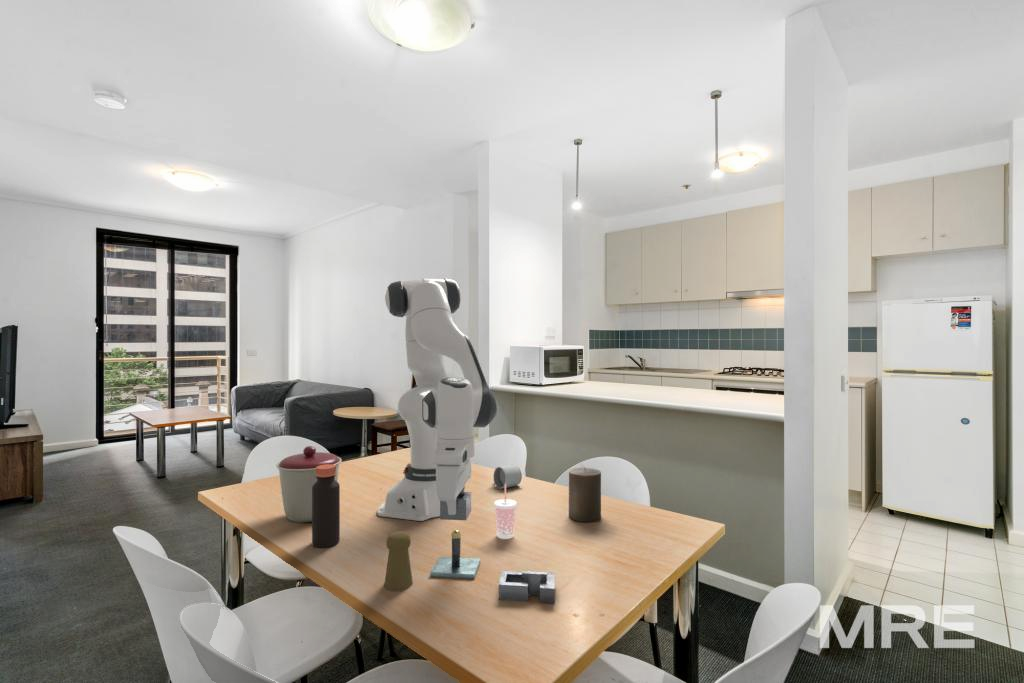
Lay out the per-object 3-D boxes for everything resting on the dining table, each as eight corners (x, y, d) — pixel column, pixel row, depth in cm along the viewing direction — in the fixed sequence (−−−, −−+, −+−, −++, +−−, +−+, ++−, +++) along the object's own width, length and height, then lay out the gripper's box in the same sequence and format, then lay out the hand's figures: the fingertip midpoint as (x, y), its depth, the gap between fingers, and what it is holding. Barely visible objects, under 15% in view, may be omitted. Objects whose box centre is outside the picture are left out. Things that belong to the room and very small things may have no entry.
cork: (386, 577, 112) (386, 528, 112) (414, 576, 112) (414, 527, 112) (382, 591, 106) (382, 539, 106) (411, 590, 106) (411, 538, 106)
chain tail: (498, 600, 102) (498, 578, 102) (502, 583, 109) (502, 563, 109) (554, 603, 101) (554, 581, 101) (555, 586, 108) (555, 566, 108)
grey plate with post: (430, 576, 113) (430, 536, 112) (439, 560, 120) (439, 523, 120) (474, 578, 111) (474, 538, 111) (480, 562, 119) (480, 524, 119)
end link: (440, 519, 113) (440, 499, 113) (446, 510, 119) (446, 491, 119) (466, 520, 113) (466, 500, 112) (471, 511, 118) (471, 492, 118)
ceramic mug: (523, 486, 180) (523, 465, 180) (505, 491, 175) (505, 469, 175) (505, 480, 189) (505, 460, 189) (487, 484, 184) (487, 463, 184)
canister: (266, 517, 150) (266, 446, 150) (324, 502, 163) (324, 437, 163) (292, 533, 137) (292, 456, 137) (352, 516, 151) (352, 446, 150)
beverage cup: (512, 541, 132) (512, 488, 132) (490, 538, 134) (490, 486, 134) (519, 533, 138) (519, 482, 138) (499, 530, 140) (499, 480, 140)
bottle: (319, 550, 126) (319, 471, 126) (307, 543, 130) (307, 466, 130) (344, 542, 131) (344, 466, 131) (331, 535, 136) (331, 462, 135)
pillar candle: (600, 523, 145) (601, 471, 145) (566, 521, 147) (567, 469, 147) (601, 512, 154) (601, 464, 154) (569, 510, 156) (570, 462, 156)
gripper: (452, 439, 126) (452, 493, 126) (430, 458, 106) (431, 523, 106) (477, 439, 126) (477, 494, 126) (460, 459, 105) (460, 524, 105)
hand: (456, 508), depth 116 cm, fingers closed on end link, 6 cm apart
